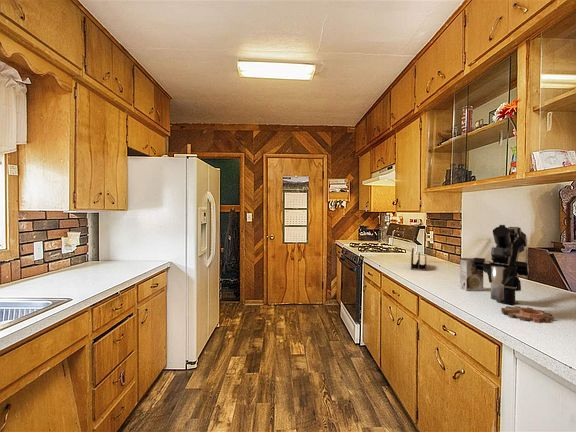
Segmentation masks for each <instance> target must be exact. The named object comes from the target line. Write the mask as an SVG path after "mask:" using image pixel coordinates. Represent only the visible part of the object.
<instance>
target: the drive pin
mask: <svg viewBox="0 0 576 432" xmlns="http://www.w3.org/2000/svg"><path fill="white" fill-rule="evenodd" d="M503 280H504V267H503V266H491V283H490V300H493V301H496V300H498V301H502V300H504V285H503Z"/></svg>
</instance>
